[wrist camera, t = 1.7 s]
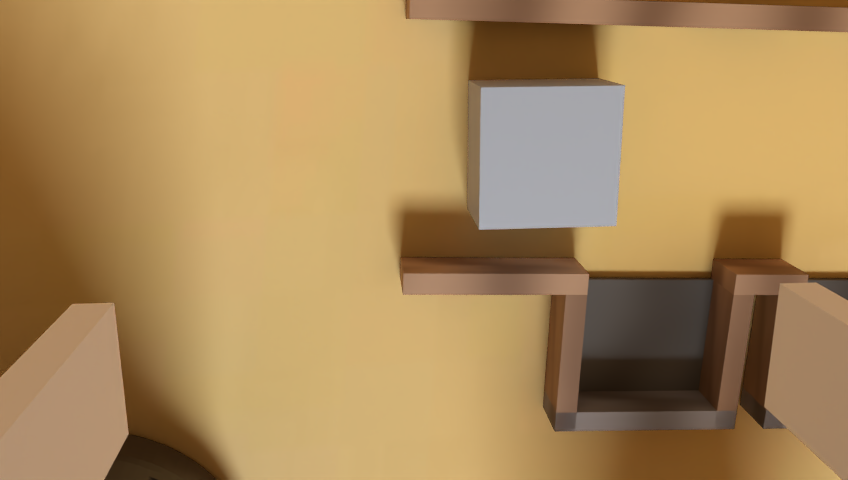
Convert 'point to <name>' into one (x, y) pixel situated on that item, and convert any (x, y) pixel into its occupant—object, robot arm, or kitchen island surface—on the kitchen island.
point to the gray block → (544, 152)
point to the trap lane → (638, 297)
